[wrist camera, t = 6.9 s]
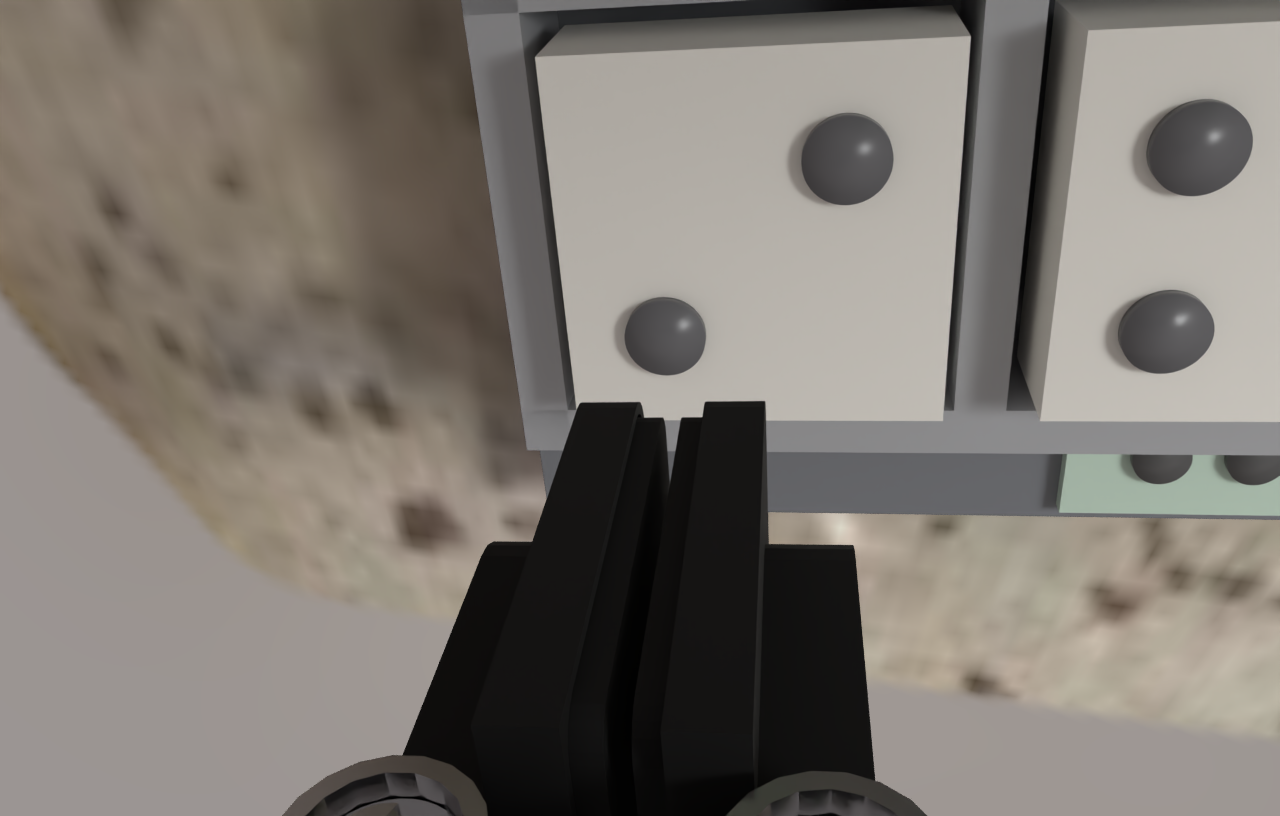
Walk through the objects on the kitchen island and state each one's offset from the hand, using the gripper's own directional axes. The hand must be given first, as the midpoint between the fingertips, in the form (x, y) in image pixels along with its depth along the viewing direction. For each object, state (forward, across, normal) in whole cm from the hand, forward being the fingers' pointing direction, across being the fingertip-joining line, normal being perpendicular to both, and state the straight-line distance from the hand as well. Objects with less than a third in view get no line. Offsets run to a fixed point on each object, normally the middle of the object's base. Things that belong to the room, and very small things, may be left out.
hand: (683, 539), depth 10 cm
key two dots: (+8, 0, 0) cm, 9 cm away
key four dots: (+8, -7, 0) cm, 11 cm away
